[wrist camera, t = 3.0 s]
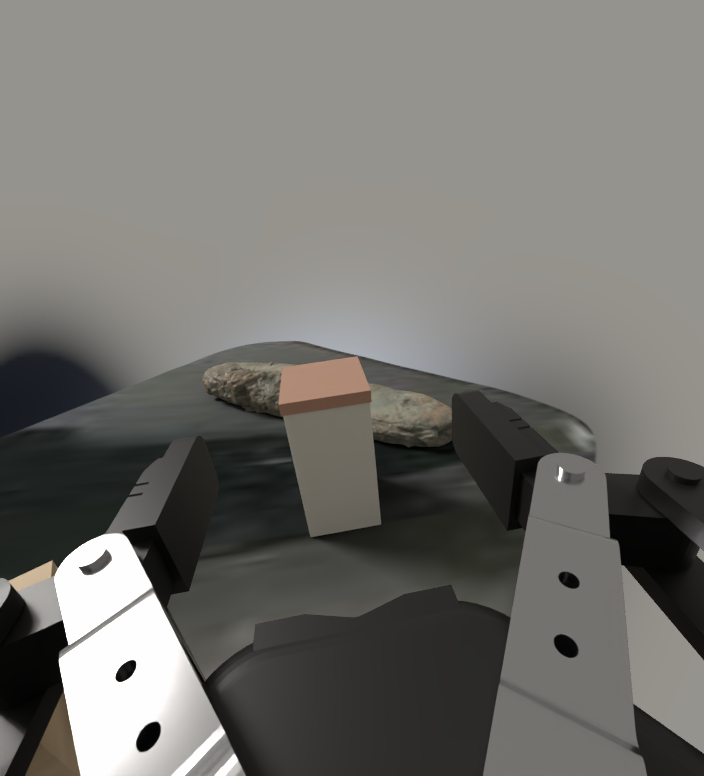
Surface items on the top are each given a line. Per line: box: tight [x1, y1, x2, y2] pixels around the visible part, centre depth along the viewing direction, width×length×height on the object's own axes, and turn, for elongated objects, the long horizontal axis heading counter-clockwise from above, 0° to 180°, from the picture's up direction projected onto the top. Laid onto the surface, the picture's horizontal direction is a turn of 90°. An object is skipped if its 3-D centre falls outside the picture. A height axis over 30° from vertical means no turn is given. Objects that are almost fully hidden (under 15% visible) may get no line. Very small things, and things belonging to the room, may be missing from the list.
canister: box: [278, 357, 381, 537], centre depth 26 cm, size 5×5×11 cm
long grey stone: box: [202, 361, 452, 447], centre depth 42 cm, size 35×5×10 cm
